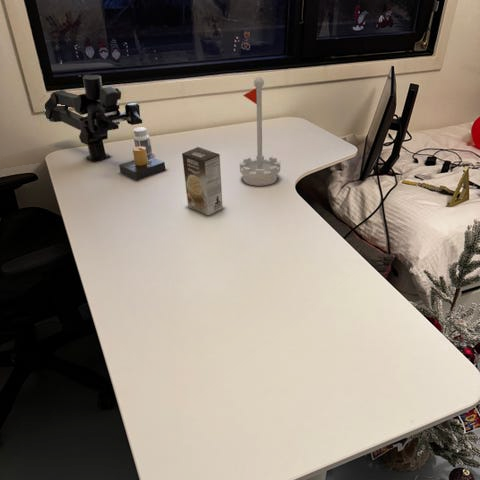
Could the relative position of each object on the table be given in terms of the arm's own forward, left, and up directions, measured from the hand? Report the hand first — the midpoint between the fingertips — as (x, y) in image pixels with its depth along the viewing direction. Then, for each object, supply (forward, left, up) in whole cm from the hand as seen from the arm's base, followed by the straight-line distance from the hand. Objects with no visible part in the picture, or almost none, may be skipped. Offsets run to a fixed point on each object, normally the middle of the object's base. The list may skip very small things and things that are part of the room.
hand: (130, 124), depth 148 cm
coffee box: (+38, -2, -17) cm, 41 cm away
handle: (0, +2, -13) cm, 13 cm away
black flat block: (0, +2, -16) cm, 16 cm away
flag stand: (+35, +24, -16) cm, 45 cm away
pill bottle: (-12, +11, -17) cm, 23 cm away
